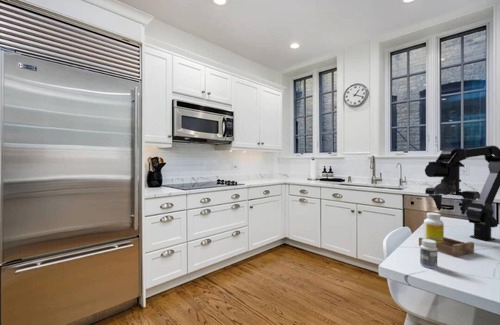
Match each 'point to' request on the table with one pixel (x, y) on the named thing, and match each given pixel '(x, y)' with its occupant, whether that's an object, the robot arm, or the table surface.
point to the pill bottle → (428, 253)
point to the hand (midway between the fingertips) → (450, 212)
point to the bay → (453, 247)
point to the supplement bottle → (434, 228)
